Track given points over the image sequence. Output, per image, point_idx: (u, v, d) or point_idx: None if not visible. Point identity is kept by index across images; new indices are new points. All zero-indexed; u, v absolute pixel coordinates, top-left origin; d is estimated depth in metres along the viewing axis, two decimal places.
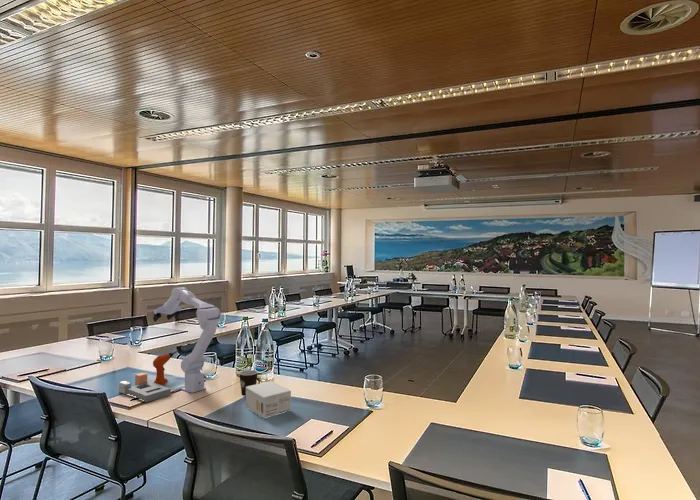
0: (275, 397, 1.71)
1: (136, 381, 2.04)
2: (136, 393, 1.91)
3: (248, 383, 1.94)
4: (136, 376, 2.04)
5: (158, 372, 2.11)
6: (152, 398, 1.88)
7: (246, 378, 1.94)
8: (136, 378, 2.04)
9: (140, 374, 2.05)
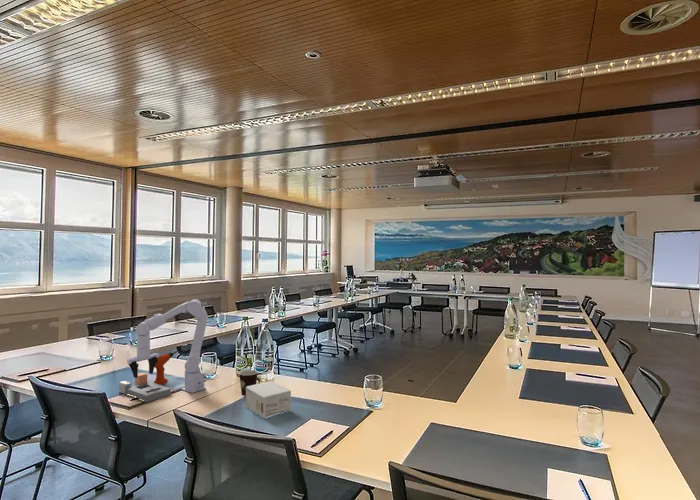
0: (275, 397, 1.71)
1: (136, 381, 2.04)
2: (136, 393, 1.91)
3: (248, 383, 1.94)
4: None
5: (158, 372, 2.11)
6: (152, 398, 1.88)
7: (246, 378, 1.94)
8: (136, 378, 2.04)
9: (140, 374, 2.05)
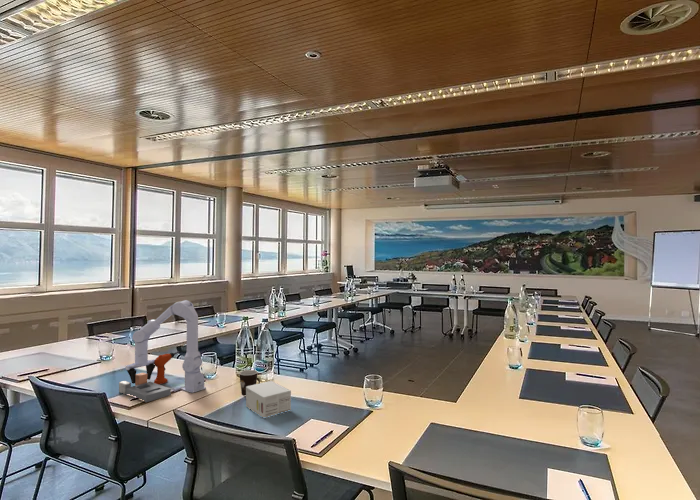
0: (275, 397, 1.71)
1: (136, 381, 2.04)
2: (136, 393, 1.91)
3: (248, 383, 1.94)
4: (136, 376, 2.04)
5: (159, 371, 2.11)
6: (152, 398, 1.88)
7: (246, 378, 1.94)
8: (136, 378, 2.04)
9: (140, 374, 2.05)
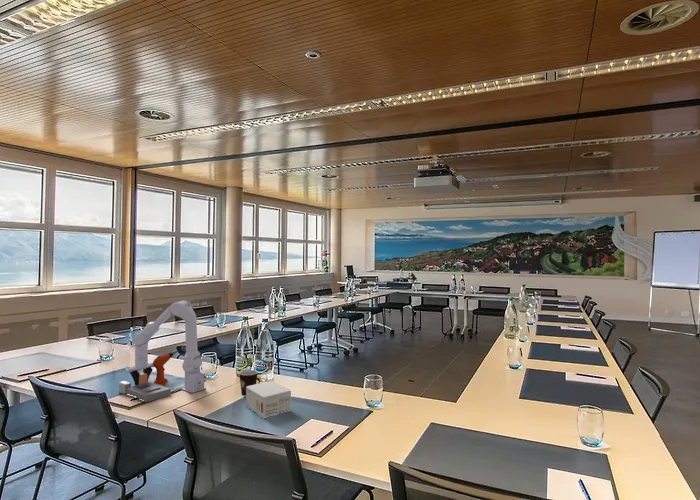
0: (274, 397, 1.71)
1: None
2: (136, 393, 1.91)
3: (248, 383, 1.94)
4: None
5: (158, 372, 2.11)
6: (152, 398, 1.88)
7: (246, 378, 1.94)
8: None
9: (140, 374, 2.05)
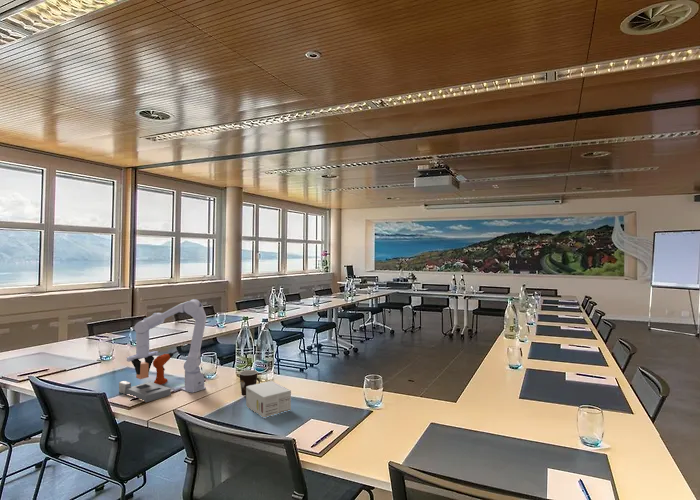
0: (275, 397, 1.71)
1: None
2: (136, 393, 1.91)
3: (248, 383, 1.94)
4: None
5: (158, 372, 2.11)
6: (152, 398, 1.88)
7: (246, 378, 1.94)
8: None
9: (141, 363, 2.01)
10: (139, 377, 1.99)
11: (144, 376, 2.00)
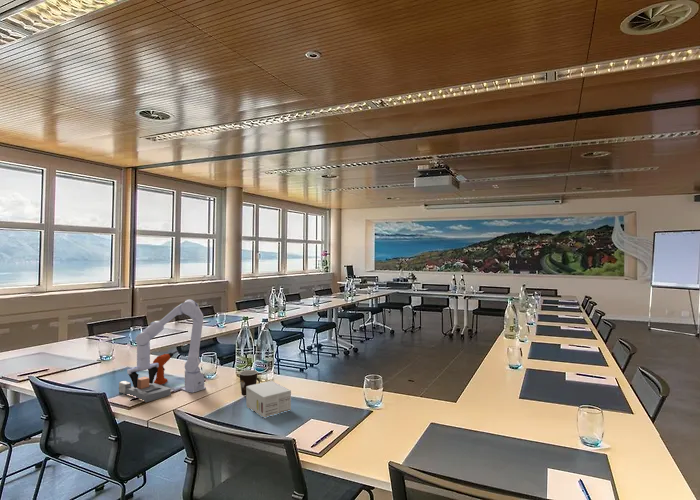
0: (274, 397, 1.71)
1: (138, 385, 1.98)
2: (136, 393, 1.91)
3: (248, 383, 1.94)
4: (138, 380, 1.98)
5: (158, 372, 2.11)
6: (152, 398, 1.88)
7: (246, 378, 1.94)
8: (138, 382, 1.97)
9: (142, 378, 1.98)
10: None
11: None
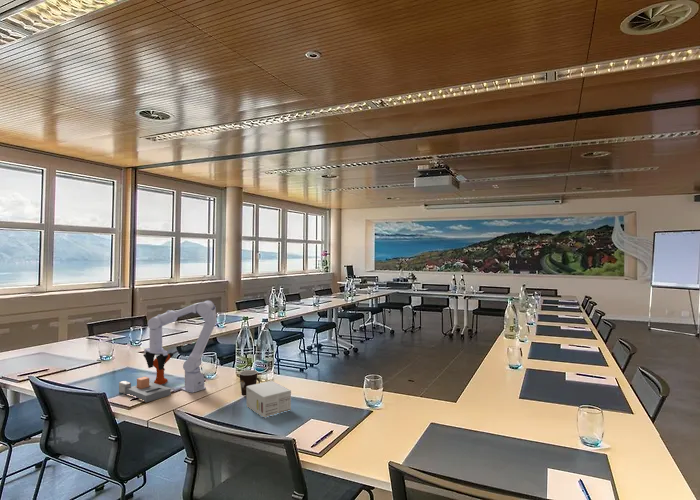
0: (274, 397, 1.71)
1: (138, 385, 1.98)
2: (136, 393, 1.91)
3: (248, 383, 1.94)
4: (138, 380, 1.98)
5: (158, 372, 2.11)
6: (152, 398, 1.88)
7: (246, 378, 1.94)
8: (138, 382, 1.97)
9: (142, 378, 1.98)
10: None
11: None
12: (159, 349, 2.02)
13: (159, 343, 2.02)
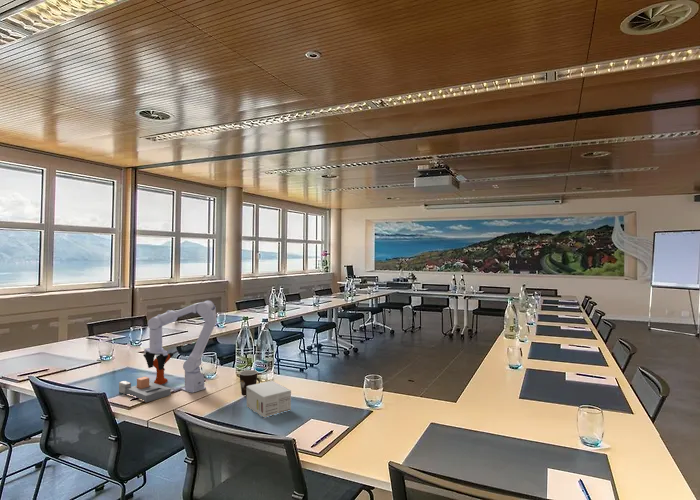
0: (274, 397, 1.71)
1: (138, 385, 1.98)
2: (136, 393, 1.91)
3: (248, 383, 1.94)
4: (138, 380, 1.98)
5: (158, 372, 2.11)
6: (152, 398, 1.88)
7: (246, 378, 1.94)
8: (138, 382, 1.97)
9: (142, 378, 1.98)
10: None
11: None
12: (159, 349, 2.02)
13: (159, 343, 2.02)
